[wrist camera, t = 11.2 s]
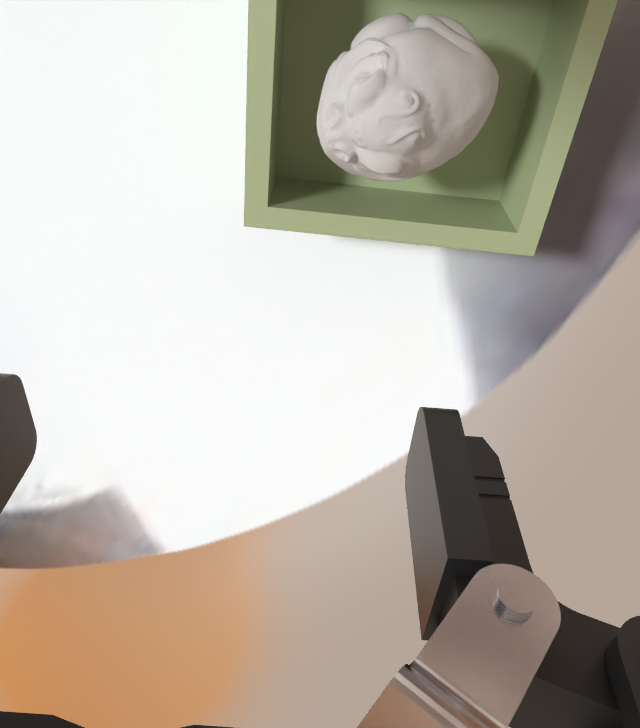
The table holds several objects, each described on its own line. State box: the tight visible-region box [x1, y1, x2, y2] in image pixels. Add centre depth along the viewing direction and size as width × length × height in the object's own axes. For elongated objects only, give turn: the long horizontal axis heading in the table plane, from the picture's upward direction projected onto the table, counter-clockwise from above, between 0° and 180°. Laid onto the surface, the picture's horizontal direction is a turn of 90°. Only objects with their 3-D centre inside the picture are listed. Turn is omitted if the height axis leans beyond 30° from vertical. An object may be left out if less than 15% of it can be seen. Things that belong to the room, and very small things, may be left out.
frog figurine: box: [317, 13, 499, 182], centre depth 24 cm, size 6×7×7 cm
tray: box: [244, 0, 618, 256], centre depth 24 cm, size 14×13×5 cm
